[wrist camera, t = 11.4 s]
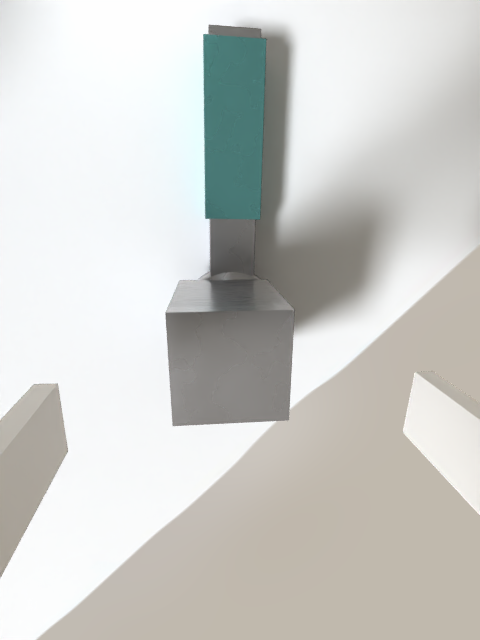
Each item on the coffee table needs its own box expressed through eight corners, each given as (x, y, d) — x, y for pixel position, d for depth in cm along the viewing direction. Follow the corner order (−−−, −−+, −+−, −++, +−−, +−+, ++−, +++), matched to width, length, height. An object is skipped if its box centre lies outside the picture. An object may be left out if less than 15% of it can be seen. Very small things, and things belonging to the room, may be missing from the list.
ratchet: (271, 351, 28) (288, 386, 22) (185, 353, 27) (181, 390, 22) (285, 50, 22) (314, -8, 16) (175, 42, 21) (166, -21, 16)
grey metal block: (183, 361, 25) (172, 425, 17) (179, 280, 23) (165, 312, 16) (264, 358, 25) (288, 420, 18) (266, 279, 24) (294, 309, 16)
